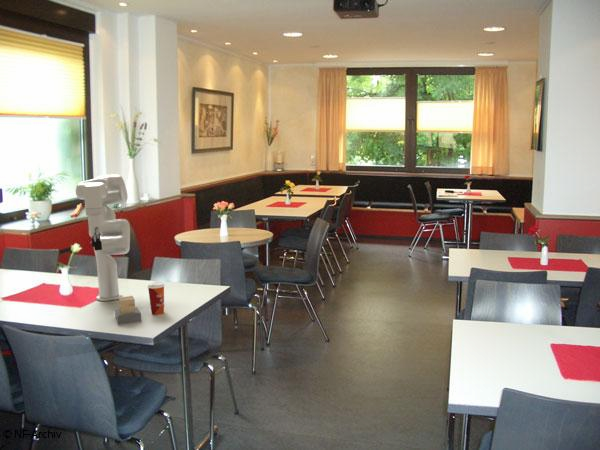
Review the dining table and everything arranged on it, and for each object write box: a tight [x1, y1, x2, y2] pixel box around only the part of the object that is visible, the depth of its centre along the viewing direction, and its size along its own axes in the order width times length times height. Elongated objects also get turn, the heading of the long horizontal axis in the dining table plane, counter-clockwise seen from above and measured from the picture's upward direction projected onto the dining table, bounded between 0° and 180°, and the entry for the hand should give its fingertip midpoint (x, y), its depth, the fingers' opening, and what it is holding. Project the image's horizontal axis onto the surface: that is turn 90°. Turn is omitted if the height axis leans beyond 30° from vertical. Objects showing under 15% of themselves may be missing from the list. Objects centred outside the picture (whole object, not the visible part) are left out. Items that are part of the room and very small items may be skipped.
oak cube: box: [118, 295, 136, 314], centre depth 282 cm, size 6×6×6 cm
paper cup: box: [147, 281, 165, 316], centre depth 291 cm, size 8×8×14 cm
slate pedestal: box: [114, 306, 142, 325], centre depth 283 cm, size 10×10×4 cm
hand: (97, 248), depth 294 cm, fingers open, 9 cm apart
